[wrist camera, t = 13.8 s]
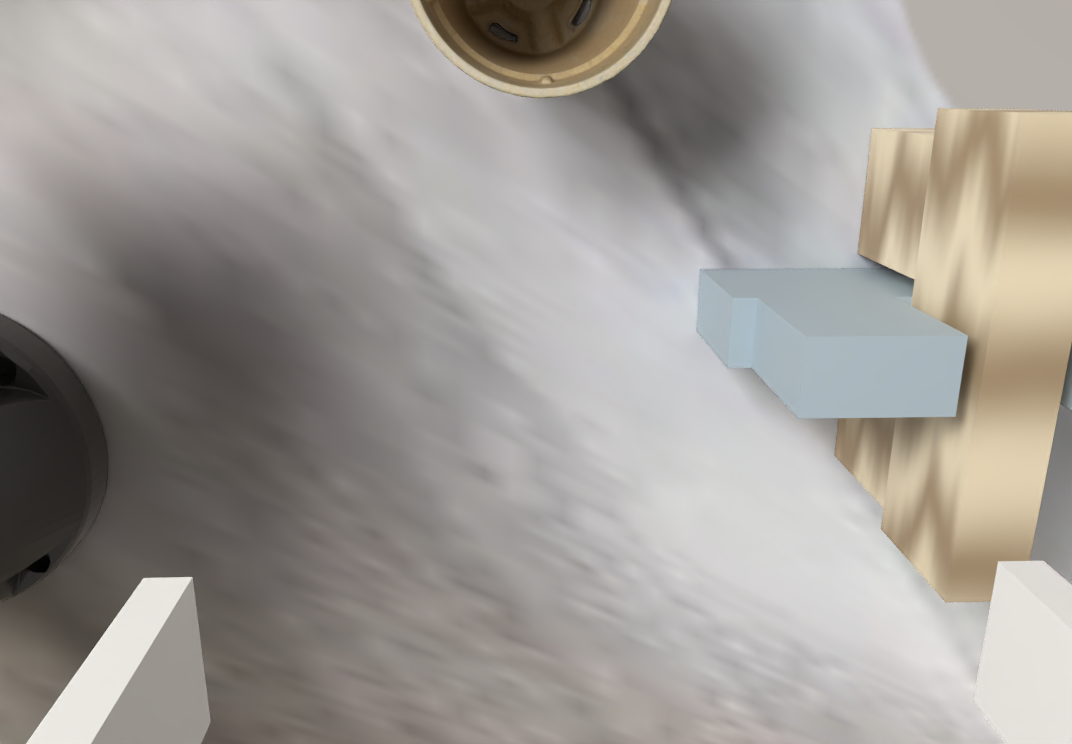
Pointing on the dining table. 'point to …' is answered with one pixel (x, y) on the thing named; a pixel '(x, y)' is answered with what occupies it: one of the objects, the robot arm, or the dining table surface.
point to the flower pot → (541, 41)
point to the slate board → (837, 341)
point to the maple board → (972, 334)
